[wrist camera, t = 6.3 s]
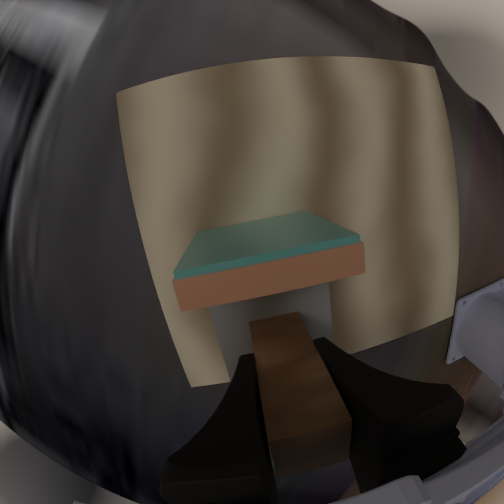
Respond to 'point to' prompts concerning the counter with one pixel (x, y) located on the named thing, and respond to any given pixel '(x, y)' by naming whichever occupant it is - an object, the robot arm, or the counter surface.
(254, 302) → the wooden post on base
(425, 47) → the counter surface
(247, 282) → the tile
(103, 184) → the counter surface
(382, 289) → the board
